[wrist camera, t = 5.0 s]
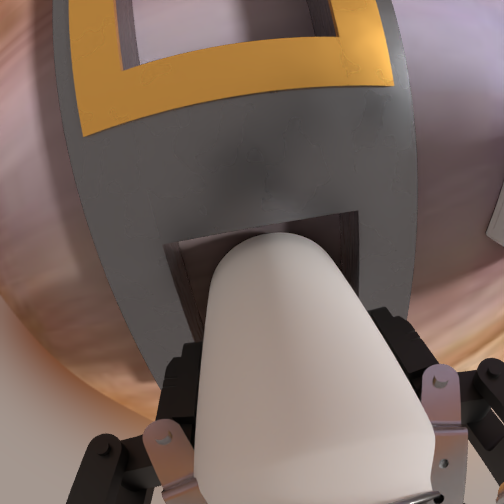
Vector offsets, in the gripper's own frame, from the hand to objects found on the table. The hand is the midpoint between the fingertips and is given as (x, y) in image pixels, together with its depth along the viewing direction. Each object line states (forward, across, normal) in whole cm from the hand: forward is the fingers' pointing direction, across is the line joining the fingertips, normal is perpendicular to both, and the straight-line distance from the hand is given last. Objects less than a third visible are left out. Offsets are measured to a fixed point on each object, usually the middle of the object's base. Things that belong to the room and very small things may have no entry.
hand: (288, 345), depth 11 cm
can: (+4, 0, 0) cm, 4 cm away
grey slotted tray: (+5, 0, -8) cm, 9 cm away
